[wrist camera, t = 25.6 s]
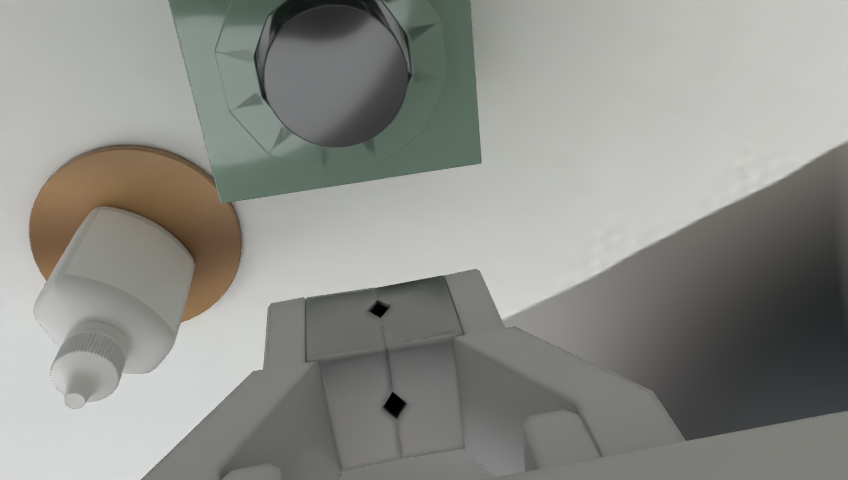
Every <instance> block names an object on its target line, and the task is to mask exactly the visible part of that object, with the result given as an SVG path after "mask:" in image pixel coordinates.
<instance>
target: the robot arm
mask: <svg viewBox="0 0 848 480" xmlns="http://www.w3.org/2000/svg"><path fill="white" fill-rule="evenodd" d="M459 449H465V452H466V453H467V454H469V455H470V456H471V457H472V458H473V459H474V460H476V461H477V462H478V463H479V464H480V465H481V466H483V467H484V468H485V469H486V470H487V471H488V472H490V473H491V474H492V475H493V476H494V478H489V479H484V480H848V411H844V412H839V413H833V414H828V415H823V416H817V417H812V418H807V419H801V420H796V421H791V422H786V423H781V424H775V425H770V426H765V427H759V428H754V429H749V430H744V431H738V432H733V433H727V434H722V435H717V436H711V437H706V438H701V439H696V440H690V441H685V439H684V437H683V436H682V435H681V433H680V431H679V430H678V428H677V427H676V426H675V424H674V422H673V421H672V419H671V418H670V417H669V415H668V414H667V412H666V410H665V409H664V407H663V406H662V404H661V403H660V401H659V400H658V398H657V397H656V395H655V394H654V392H653V391H651V390H649V389H647V388H644V387H642V386H640V385H638V384H636V383H634V382H632V381H630V380H627V379H625V378H623V377H621V376H619V375H617V374H615V373H612V372H610V371H608V370H606V369H604V368H602V367H600V366H598V365H596V364H593V363H591V362H589V361H587V360H585V359H583V358H581V357H579V356H577V355H574V354H572V353H570V352H568V351H566V350H564V349H562V348H560V347H557V346H555V345H553V344H551V343H549V342H547V341H545V340H542V339H540V338H538V337H536V336H534V335H532V334H530V333H528V332H525V331H523V330H521V329H519V328H517V327H509V328H505V326H504V324H503V322H502V320H501V317H500V315H499V313H498V311H497V308H496V306H495V304H494V302H493V299H492V297H491V295H490V293H489V290H488V288H487V286H486V284H485V281H484V279H483V277H482V275H481V272H480V271H479V270H477V269H473V270H468V271H463V272H458V273H454V274H449V275H444V276H443V275H442V276H437V277H432V278H426V279H421V280H416V281H411V282H405V283H400V284H395V285H389V286H384V287H379V288H369V289H362V290H355V291H348V292H341V293H334V294H328V295H321V296H314V297H307V298H306V299H305V298H304V297H303V298H298V299H292V300H287V301H281V302H276V303H271V304H270V306H269V307H268V314H267V327H266V340H265V352H264V365H263V370H258V371H253V372H252V373H251V374H250V375H249V376H248V377H247V378H246V379H245V380H244V381H243V382H242V383H241V384H240V385H239V386H237V387H236V388H235V389H234V390H233V391H232V392H231V393H230V394H229V395H228V396H227V397H226V398H225V399H224V400H223V401H222V402H221V403H220V404H219V405H218V406H217V407H216V408H215V409H214V410H213V411H212V412H211V413H210V414H208V415H207V416H206V417H205V418H204V419H203V420H202V421H201V422H200V423H199V424H198V425H197V426H196V427H195V428H194V429H193V430H192V431H191V432H190V433H189V434H188V435H187V436H186V437H185V438H184V439H183V440H182V441H180V442H179V443H178V444H177V445H176V446H175V447H174V448H173V449H172V450H171V451H170V452H169V453H168V454H167V455H166V456H165V457H164V458H163V459H162V460H161V461H160V462H159V463H158V464H157V465H156V466H155V467H154V468H153V469H151V470H150V471H149V472H148V473H147V474H146V475H145V476H144V477H143V478H142V479H141V480H339V478H340V477H341V471H346V470H351V469H356V468H360V467H365V466H369V465H374V464H379V463H384V462H389V461H393V460H397V459H402V458H409V457H416V456H422V455H428V454H435V453H441V452H447V451H454V450H459ZM402 455H403V456H402Z"/></svg>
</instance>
